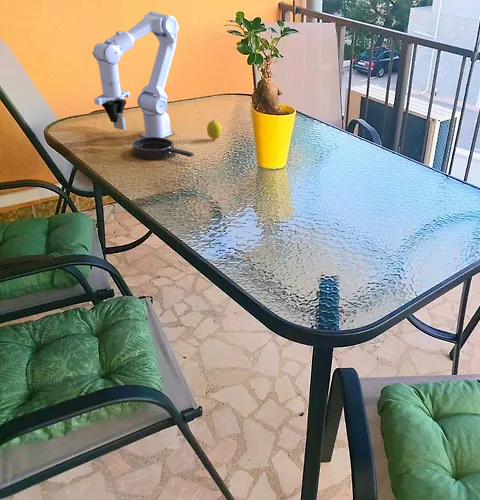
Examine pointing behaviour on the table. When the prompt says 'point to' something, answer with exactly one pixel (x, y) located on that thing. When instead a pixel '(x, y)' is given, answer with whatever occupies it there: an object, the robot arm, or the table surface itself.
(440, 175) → the table surface
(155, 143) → the pan
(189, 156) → the pan handle
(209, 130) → the lemon
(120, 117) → the lighter
